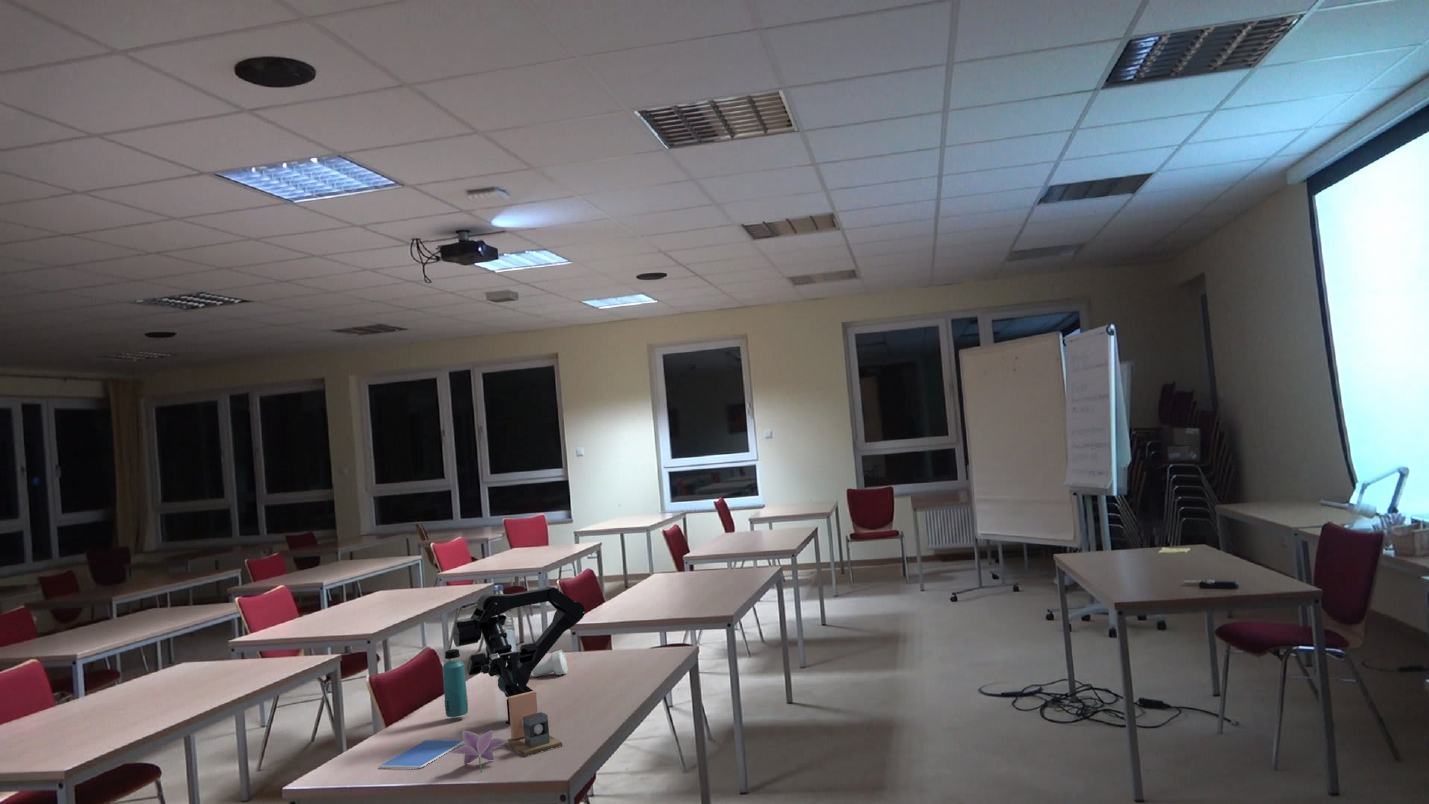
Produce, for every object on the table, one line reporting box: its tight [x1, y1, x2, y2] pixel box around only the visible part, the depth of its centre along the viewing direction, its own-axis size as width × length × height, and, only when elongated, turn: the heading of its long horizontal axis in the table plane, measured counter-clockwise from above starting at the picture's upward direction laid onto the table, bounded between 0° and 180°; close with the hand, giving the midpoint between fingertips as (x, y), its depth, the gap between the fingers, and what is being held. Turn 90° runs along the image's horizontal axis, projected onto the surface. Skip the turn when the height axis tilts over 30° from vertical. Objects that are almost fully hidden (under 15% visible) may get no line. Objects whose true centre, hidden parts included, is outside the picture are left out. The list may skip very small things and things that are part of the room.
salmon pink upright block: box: [507, 690, 543, 739], centre depth 225 cm, size 10×7×10 cm
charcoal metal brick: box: [523, 711, 550, 748], centre depth 221 cm, size 4×5×7 cm
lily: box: [451, 729, 508, 773], centre depth 210 cm, size 12×12×10 cm
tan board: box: [504, 734, 563, 758], centre depth 224 cm, size 14×10×1 cm
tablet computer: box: [379, 739, 465, 770], centre depth 224 cm, size 19×13×1 cm, turn 164°
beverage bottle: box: [441, 648, 469, 718], centre depth 255 cm, size 6×7×20 cm
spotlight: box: [532, 649, 569, 678], centre depth 298 cm, size 8×11×8 cm
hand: (512, 684), depth 234 cm, fingers closed
